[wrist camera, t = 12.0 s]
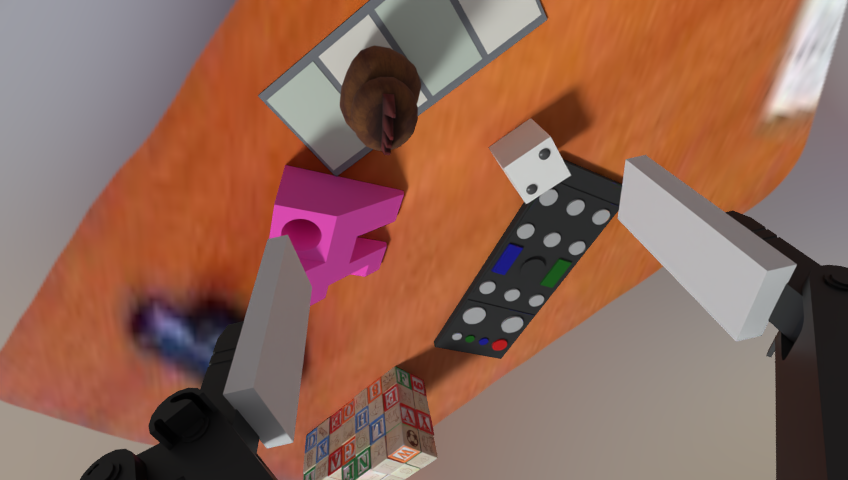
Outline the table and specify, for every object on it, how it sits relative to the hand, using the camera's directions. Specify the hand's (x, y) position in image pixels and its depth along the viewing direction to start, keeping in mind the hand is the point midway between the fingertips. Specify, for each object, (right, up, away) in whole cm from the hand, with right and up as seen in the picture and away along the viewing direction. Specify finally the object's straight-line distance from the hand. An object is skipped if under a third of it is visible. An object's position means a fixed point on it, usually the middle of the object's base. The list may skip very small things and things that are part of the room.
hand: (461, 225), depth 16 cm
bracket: (-11, +2, +28) cm, 31 cm away
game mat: (-3, +15, +20) cm, 25 cm away
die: (+9, +9, +27) cm, 29 cm away
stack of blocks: (-11, -27, +49) cm, 57 cm away
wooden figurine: (-6, +14, +20) cm, 25 cm away
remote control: (+11, -4, +38) cm, 39 cm away
